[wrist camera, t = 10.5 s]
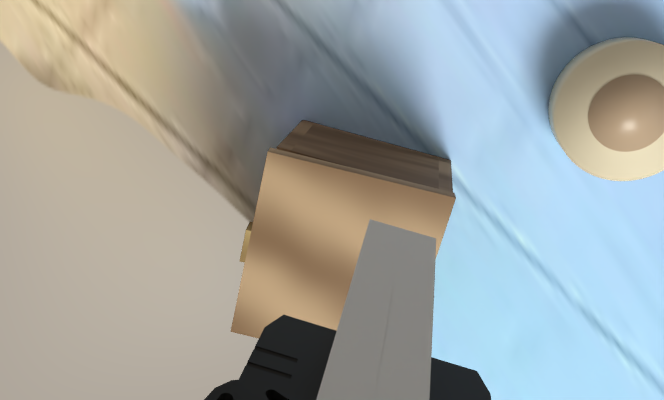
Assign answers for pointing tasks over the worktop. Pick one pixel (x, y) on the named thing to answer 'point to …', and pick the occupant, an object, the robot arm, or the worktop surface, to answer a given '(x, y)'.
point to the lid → (320, 236)
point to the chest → (368, 155)
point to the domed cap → (612, 109)
